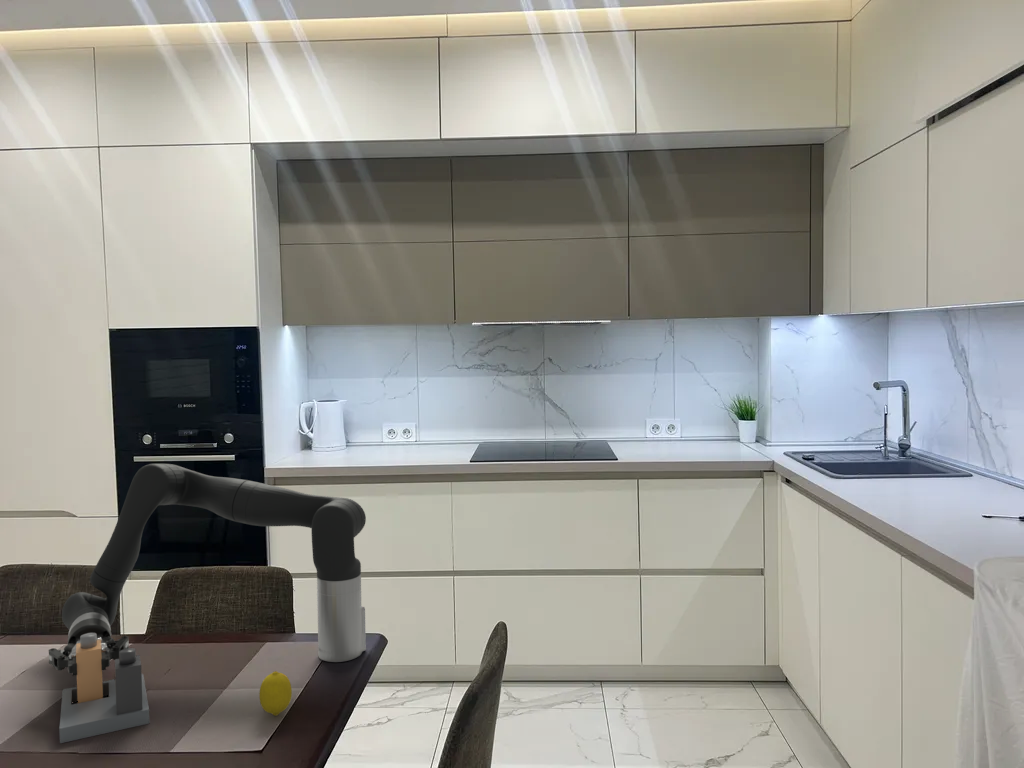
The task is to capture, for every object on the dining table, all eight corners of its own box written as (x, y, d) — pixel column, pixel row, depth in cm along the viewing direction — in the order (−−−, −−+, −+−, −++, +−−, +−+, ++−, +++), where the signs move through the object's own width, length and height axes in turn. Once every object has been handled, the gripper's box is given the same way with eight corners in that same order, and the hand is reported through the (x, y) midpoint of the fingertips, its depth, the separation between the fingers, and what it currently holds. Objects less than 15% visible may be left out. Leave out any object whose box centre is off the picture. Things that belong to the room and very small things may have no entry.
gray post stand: (143, 686, 146) (141, 623, 146) (149, 723, 132) (147, 653, 131) (63, 702, 140) (61, 636, 139) (59, 743, 125) (57, 669, 124)
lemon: (295, 707, 137) (294, 664, 137) (287, 722, 131) (286, 677, 131) (265, 708, 137) (264, 665, 136) (255, 723, 131) (254, 678, 131)
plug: (102, 696, 141) (100, 628, 141) (103, 707, 137) (101, 637, 136) (78, 701, 139) (76, 633, 139) (77, 712, 135) (75, 642, 134)
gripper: (47, 624, 147) (42, 655, 132) (128, 611, 154) (132, 639, 139) (48, 662, 147) (43, 697, 132) (129, 647, 154) (134, 679, 139)
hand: (89, 667), depth 135 cm, fingers closed on plug, 4 cm apart
